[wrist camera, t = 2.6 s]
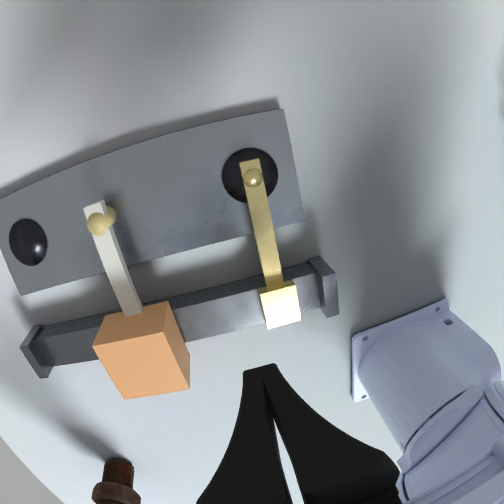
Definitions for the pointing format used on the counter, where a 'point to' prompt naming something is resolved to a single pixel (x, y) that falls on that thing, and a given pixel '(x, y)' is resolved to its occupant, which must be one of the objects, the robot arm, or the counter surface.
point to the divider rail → (211, 296)
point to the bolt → (116, 484)
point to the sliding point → (135, 325)
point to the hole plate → (149, 200)
